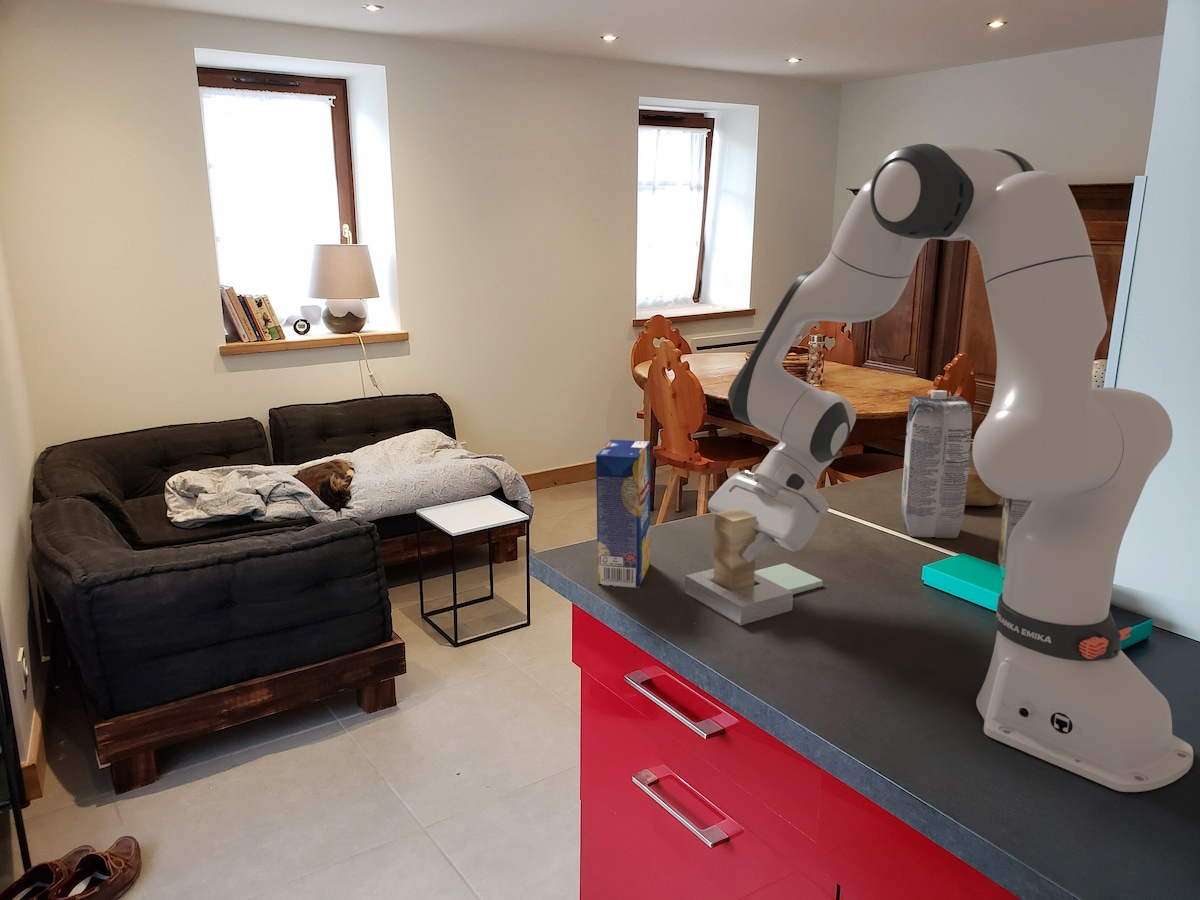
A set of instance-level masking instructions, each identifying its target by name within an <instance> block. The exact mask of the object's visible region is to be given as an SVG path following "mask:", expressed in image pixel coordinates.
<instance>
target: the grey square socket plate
mask: <svg viewBox="0 0 1200 900" xmlns="http://www.w3.org/2000/svg"><path fill="white" fill-rule="evenodd" d="M684 580H685V581H684V582H685V583H684V584H685V585H684V587H685V589H684V590H685V591H684V593H685V594H686V595H688V596H690V597H691V598H693V599H695V600H696V601H698V602H700V603H701V604H703V605H704V606H706V607H708V608H710V609H711V610H713V611H715V612H716V613H718V614H719V615H721V616H724V617H726V618H727V619H729V620H731V621H732V622H734V623H735V624H737V625H739V626H743V625H747V624H750V623H753V622H757V621H760V620H763V619H768V618H770V617H774V616H778V615H781V614H784V613H788V612H792V611H793V602H794V601H793V600H794V598H793V596H794V594H793V592H792V591H790V590H788V589H786V588H784V587H782V586H780V585H778V584H776V583H774V582H772V581H770V580H768V579H766V578H764V577H762V576H760V575H758V574H756V573H755V577H754V586H751V587H748V588H744V589H740V590H736V591H733V592H730V591H728V590H726V589H724V588H722V587H720V586H719V585H717V584H715V583H713V580H714V568H709V569H706V570H702V571H697V572H694V573H689V574H686V575H685V577H684Z"/></svg>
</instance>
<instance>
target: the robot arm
mask: <svg viewBox="0 0 1200 900" xmlns="http://www.w3.org/2000/svg"><path fill="white" fill-rule="evenodd" d="M859 189H860V190H859V191H858V193H857V194H856V195H855V198H853V201H852V203H851V204H850V206H849V208H848V209H847V212H846V214H845V216H844V218H843V220H842V222H841V224H840V226H839V227H838V230H837V233H836V235H835V238H834V240H833V243H832V246H831V247H830V251H829V253H828V255H827V257H826V258H825V259H824V261H823V262H822V264H821V265H819V267H818V268H816V269H814V270H809V271H808V270H807V271H805V272H803V273H801V274H800V275H799V276H798V277H797V279H795V280H794V281H793V283H792V284H791V285H790V287H789V288H788V289H787V290H786V292H785V294H784V296H783V298H781V300H780V302H779V304H778V305H777V307H776V309H775V311H774V313H773V314H772V315H771V318H770V320H769V321H768V323H767V324H766V327H765V329H764V331H763V332H762V334H761V336H760V337H759V340H758V341H757V343H756V345H755V346H754V349H753V351H752V352H751V354H750V356H749V357H748V358H747V360H746V362H745V363H744V364H743V366H742V368H741V369H740V370H739V372H738V373H737V375H736V376H735V378H734V380H733V381H732V383H731V385H730V387H729V389H728V392H727V399H728V404H729V408H730V410H731V413H732V415H733V418H734V419H736V420H738V421H740V422H742V423H744V424H746V425H749V426H751V427H753V428H757V429H759V430H760V431H762V432H764V433H766V434H767V435H769V436H771V437H772V438H774V439H776V440H778V441H779V442H778V443H777V445H775V446H774V447H773V448H772V449H771V450H770V451H769V452H768V454H767V455H766V456H765V458H764V459H763V460H762V461H761V463H760V464H759V466H758V467H757V469H756V470H755V471H754V472H753V471H752V472H751V471H750V470H747V469H744V470H742V471H739V472H736V473H734V474H733V475H731V476H730V477H729V478H728V479H727V480H726V481H724V482H723V484H722V485H721V486H720V487H719V488H718V489H717V490H716V492H714V494H713V495H712V496H711V497H710V499H709V500H708V503H707V509H708V510H709V512H711V514H712V515H714V516H715V513H719V512H724V511H728V510H733V509H740V510H743V511H745V512H747V513H750V514H752V515H755V516H756V521H755V523H754V525H753V529H755V530H756V537H755V538H756V540H755V541H754V542H753V543H751V544H750V545H749V546H748V547H747V546H745V545H744V546H743V547H742V549H741V550H740V551H739V556H740V557H741V558H742V559H743V560H745V561H747V562H751V561H752V559H753V558H754V556H755V557H756V555H758V554H760V553H761V552H763V551H764V550H768V548H769V547H770V545H771V544H772V543H773V544H774V545H775V544H776V545H777V546H780V547H782V548H785V549H786V550H789V551H791V552H792V553H793V552H794V553H795V552H797V551H799V550H801V549H803V548H804V547H805V546H806V545H807V543H808V542H809V540H810V539H811V538H812V536H813V534H814V533H815V532H816V530H817V528H818V526H819V524H820V522H821V516H824V515H826V514H827V512H828V511H829V510H830V504H829V503H828V501H827V500H826V498H824V497H823V495H822V493H820V492H819V490H818V489H817V488H816V487H815V486H816V485H817V483H818V482H819V480H820V477H821V474H822V473H823V471H824V470H825V469H826V468H827V467H828V466H829V465H831V464H832V463H833V461H834V460H835V459H836V457H837V456H838V454H839V453H840V451H841V450H842V449H843V447H844V446H845V444H846V443H847V441H848V439H849V437H850V434H851V432H852V430H853V427H854V425H855V423H856V421H857V413H856V410H855V409H854V407H853V405H852V404H851V403H850V402H849V401H848V399H846V398H845V397H843V396H842V395H841V394H838V393H837V392H834V391H830V390H822V389H821V388H819V387H816V386H813V385H812V384H810V383H808V382H806V381H804V380H803V379H801V378H798V377H796V376H794V375H793V374H791V373H789V372H788V371H787V370H786V369H785V368H784V366H783V361H784V359H785V357H786V355H787V353H788V352H789V350H790V349H791V347H792V345H793V343H794V342H795V340H796V338H797V337H798V335H799V333H800V331H801V330H802V329H803V326H804V325H805V324H806V323H808V322H813V321H815V322H816V321H817V322H818V321H825V322H836V323H845V324H847V323H850V324H851V323H861V322H868V321H871V320H874V319H877V318H880V317H881V316H883V315H885V314H886V313H888V312H889V311H891V310H892V309H893V308H894V307H895V305H896V304H897V303H898V301H899V299H900V298H901V296H902V294H903V293H904V291H905V288H906V286H907V284H908V282H909V279H910V277H911V275H912V272H913V271H914V268H915V265H916V263H917V261H918V258H919V255H920V253H921V251H922V249H923V248H924V246H925V244H926V243H927V242H928V241H929V240H931V239H933V240H934V239H935V240H944V241H947V242H949V241H950V242H952V241H953V242H954V241H955V242H958V241H967V240H968V241H970V242H971V243H972V244H973V245H974V247H975V248H976V250H977V252H978V256H979V258H980V263H981V270H982V273H983V281H984V284H985V286H984V287H985V289H986V295H987V299H988V307H989V311H990V316H991V322H992V328H993V332H994V338H995V347H996V371H995V372H996V373H995V381H994V382H995V383H994V389H993V395H992V399H991V400H992V401H991V404H990V407H989V410H988V411H987V414H986V416H985V418H984V419H983V421H982V422H981V423H980V424H979V427H977V430H976V432H975V435H974V436H973V441H972V452H971V453H972V460H973V465H974V469H976V471H977V473H978V475H979V476H980V478H981V480H982V481H983V482H984V483H985V485H986V486H987V487H988V488H989V489H991V490H992V491H993V492H995V493H996V494H998V495H1000V496H1001V497H1003V498H1004V497H1005V498H1009V499H1018V500H1032V502H1031V504H1030V506H1029V508H1028V510H1027V511H1026V513H1025V514H1024V516H1023V517H1022V518H1021V519H1020V520H1019V521H1018V522H1017V524H1016V525H1015V526H1014V528H1013V530H1012V531H1011V534H1010V536H1009V539H1008V547H1007V556H1006V566H1005V575H1004V578H1003V586H1002V592H1001V593H1000V594H999V595H998V598H997V605H996V606H997V607H996V612H995V620H994V625H995V631H996V632H995V633H996V636H995V637H996V638H995V641H994V642H995V644H994V648H993V652H992V657H991V659H990V660H991V661H990V663H989V667H988V670H987V673H986V677H985V679H984V682H983V684H982V686H981V688H980V691H978V695H977V697H976V699H975V700H976V701H975V703H976V704H975V706H976V708H977V710H978V712H979V714H980V715H981V717H982V719H983V721H984V722H983V733H984V734H985V735H986V736H987V737H989V738H991V739H994V740H995V741H998V742H1000V743H1003V744H1005V745H1008V746H1009V747H1013V748H1014V749H1015V748H1016V749H1018V750H1020V751H1022V752H1024V753H1026V754H1029V755H1031V756H1034V757H1036V758H1038V759H1041V760H1042V761H1045V762H1048V763H1050V764H1052V765H1054V766H1057V767H1060V768H1062V769H1065V770H1067V771H1069V772H1071V773H1074V774H1076V775H1079V776H1081V777H1083V778H1086V779H1088V780H1091V781H1093V782H1095V783H1097V784H1100V785H1102V786H1105V787H1107V788H1110V789H1112V790H1114V791H1118V792H1122V793H1124V792H1125V793H1139V792H1147V791H1152V790H1156V789H1159V788H1162V787H1165V786H1167V785H1169V784H1172V783H1174V782H1176V781H1177V780H1178V779H1180V778H1182V777H1183V776H1184V775H1185V774H1187V773H1189V770H1190V769H1191V768H1192V767H1193V764H1194V750H1193V746H1191V744H1189V743H1188V742H1186V741H1185V740H1183V739H1182V738H1179V737H1178V736H1176V735H1174V734H1173V721H1172V719H1173V718H1172V717H1173V716H1172V713H1171V712H1172V711H1171V707H1170V704H1169V701H1168V700H1167V698H1166V697H1165V695H1163V693H1161V692H1160V690H1159V689H1157V687H1156V686H1155V685H1153V683H1152V682H1151V681H1150V680H1149V679H1148V678H1147V676H1145V675H1144V673H1143V672H1142V671H1141V670H1140V669H1139V668H1138V667H1137V665H1135V664H1134V663H1133V661H1131V659H1130V658H1129V657H1128V656H1127V655H1126V654H1125V653H1124V652H1123V650H1121V649H1122V644H1121V641H1123V640H1126V639H1127V638H1130V637H1131V634H1130V632H1131V631H1132V627H1131V626H1128V627H1125V628H1123V629H1120V630H1118V628H1117V625H1116V624H1115V620H1114V617H1113V615H1112V612H1111V611H1110V607H1111V599H1112V595H1113V594H1112V593H1113V587H1114V579H1115V573H1116V567H1117V562H1118V556H1119V553H1120V548H1121V545H1122V542H1123V538H1124V536H1125V533H1126V530H1127V528H1128V526H1129V524H1130V522H1131V521H1130V520H1131V518H1132V516H1133V515H1134V514H1133V513H1134V511H1135V508H1136V506H1137V505H1138V502H1139V500H1140V497H1141V495H1142V493H1143V490H1144V488H1145V486H1146V483H1148V480H1149V478H1150V476H1151V474H1152V473H1153V471H1154V469H1155V468H1157V466H1158V465H1159V464H1160V462H1161V461H1163V459H1164V458H1165V456H1166V455H1167V454H1168V452H1169V451H1170V448H1171V446H1172V443H1173V442H1172V441H1173V431H1174V430H1173V425H1172V420H1171V418H1170V415H1169V414H1168V411H1167V410H1166V409H1165V408H1164V406H1163V405H1162V404H1161V403H1160V402H1159V401H1158V400H1156V398H1153V397H1152V396H1150V395H1148V394H1146V393H1144V392H1140V391H1136V390H1131V389H1128V388H1127V389H1125V388H1121V387H1120V388H1118V387H1111V386H1110V387H1099V388H1098V387H1097V388H1093V370H1094V362H1095V356H1096V354H1097V353H1096V352H1097V350H1098V346H1099V345H1100V343H1101V342H1102V341H1103V338H1104V337H1105V336H1106V332H1107V329H1108V320H1107V316H1106V311H1105V305H1104V301H1103V296H1102V291H1101V286H1100V282H1099V277H1098V273H1097V268H1096V263H1095V259H1094V254H1093V249H1092V245H1091V241H1090V237H1089V235H1088V232H1087V228H1086V224H1085V221H1084V219H1083V216H1082V213H1081V211H1080V209H1079V206H1078V204H1077V203H1078V202H1076V199H1075V197H1074V195H1073V193H1072V190H1071V188H1070V187H1069V184H1068V183H1067V182H1066V180H1064V178H1063V177H1061V176H1059V175H1058V174H1056V173H1054V172H1050V171H1044V170H1035V169H1034V167H1033V165H1032V164H1031V163H1030V162H1029V161H1027V160H1026V159H1025V157H1022V156H1020V155H1019V154H1017V153H1014V152H1012V151H1010V150H1006V149H1001V148H994V149H992V148H991V149H990V148H987V147H980V146H974V145H970V144H967V143H939V144H932V143H917V144H914V145H913V144H912V145H908V146H905V147H902V148H899V149H897V150H894V151H893V152H892V153H890V154H889V155H887V156H886V157H885V158H884V159H883V161H882V162H881V163H880V164H879V166H878V167H877V168H876V171H875V173H874V175H873V177H872V178H871V179H869V180H868V181H867V182H865V183H864V184H863V185H862V186H861V188H859Z"/></svg>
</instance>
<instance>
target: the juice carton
mask: <svg viewBox="0 0 1200 900" xmlns="http://www.w3.org/2000/svg"><path fill="white" fill-rule="evenodd" d="M972 416H973V405H972V404H971V403H970V402H968V401H967V400H966V399H964V398H963V397H962V396H958V395H957V396H948V390H940V389H939V390H936V389H933V390H930V396H922V395H912V396H911V397H910V400H909V405H908V414H907V420H906V434H905V446H904V461H903V472H902V473H903V475H902V485H901V486H902V487H901V500H900V502H901V503H900V504H901V507H900V509H901V510H900V511H901V516H902V521H903V524H904V527H905V528H907V529H906V530H907V532H908V535H909V537H911V536H912V538H932V537H935V539H937V538H938V539H958V537H959V534H960V531H961V528H962V525H963V521H964V517H965V516H964V515H965V507H966V505H965V498H966V487H967V477H968V468H969V464H970V452H971V443H972V430H973V429H972V428H973V417H972Z"/></svg>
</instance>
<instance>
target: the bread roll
mask: <svg viewBox="0 0 1200 900" xmlns="http://www.w3.org/2000/svg"><path fill="white" fill-rule="evenodd" d="M1001 499H1002V496H1000V495H998V494H996V493H995V492H993V491H992V490H991V489H989V488H988V487H987V486H986V485H985V483H984V482H983V481H982V480H981V478H980V476H979V475H978V473H977V471H976V468H971V467H968V477H967V487H966V498H965V506H979V507H980V506H981V507H992V506H994V505H997V504H998V503H999V502H1000V501H1001ZM991 505H992V506H991Z"/></svg>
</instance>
